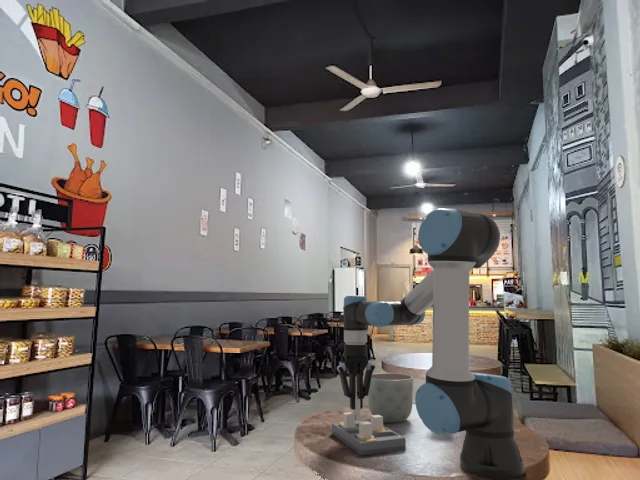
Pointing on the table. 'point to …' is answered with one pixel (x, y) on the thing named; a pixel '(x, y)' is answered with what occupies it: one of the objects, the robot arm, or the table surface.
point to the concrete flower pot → (391, 396)
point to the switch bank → (369, 439)
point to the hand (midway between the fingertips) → (356, 419)
